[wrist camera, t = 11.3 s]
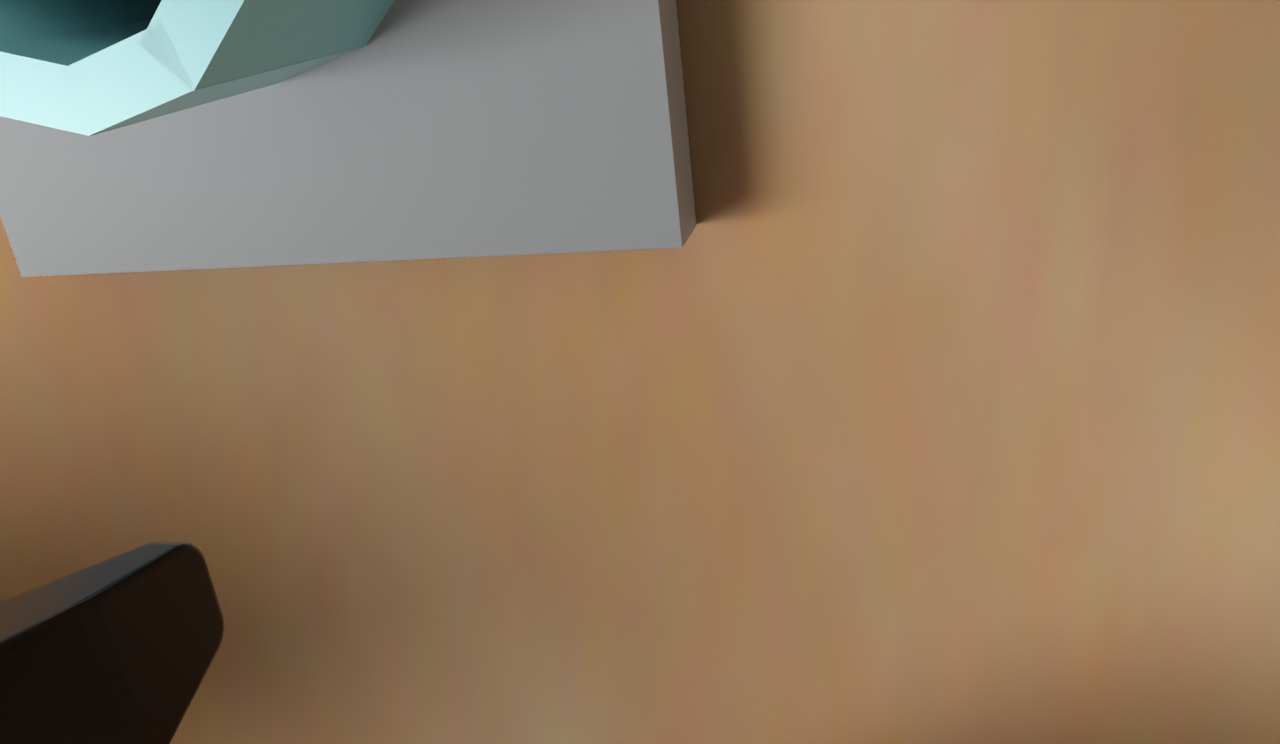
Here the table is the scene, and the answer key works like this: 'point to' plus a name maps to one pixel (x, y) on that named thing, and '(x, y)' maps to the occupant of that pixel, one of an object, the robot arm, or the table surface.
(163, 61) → the mug with handle
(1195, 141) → the table surface
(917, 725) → the table surface
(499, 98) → the flat gray panel
